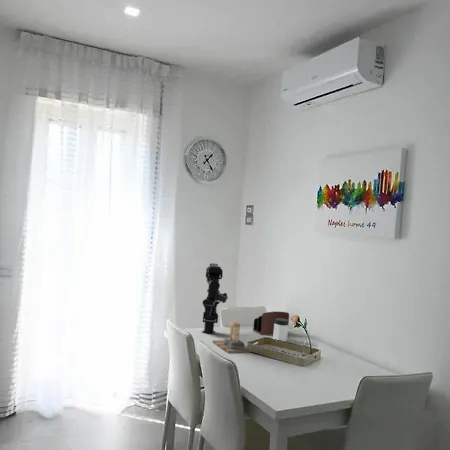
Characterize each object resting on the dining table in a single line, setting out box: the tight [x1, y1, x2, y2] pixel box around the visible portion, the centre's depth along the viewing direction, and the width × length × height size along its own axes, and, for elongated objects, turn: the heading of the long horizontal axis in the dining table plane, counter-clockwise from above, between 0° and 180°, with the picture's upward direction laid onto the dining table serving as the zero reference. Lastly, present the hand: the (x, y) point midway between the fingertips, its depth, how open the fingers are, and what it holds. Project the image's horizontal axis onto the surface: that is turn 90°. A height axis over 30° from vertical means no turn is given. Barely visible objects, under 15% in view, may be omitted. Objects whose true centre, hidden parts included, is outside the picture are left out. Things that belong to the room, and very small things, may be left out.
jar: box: [272, 318, 290, 342], centre depth 287 cm, size 9×8×12 cm
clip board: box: [211, 338, 253, 354], centre depth 261 cm, size 20×14×4 cm
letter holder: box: [252, 311, 290, 336], centre depth 303 cm, size 10×20×14 cm, turn 117°
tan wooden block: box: [228, 321, 241, 343], centre depth 259 cm, size 5×3×12 cm, turn 25°
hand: (211, 315), depth 277 cm, fingers open, 9 cm apart
